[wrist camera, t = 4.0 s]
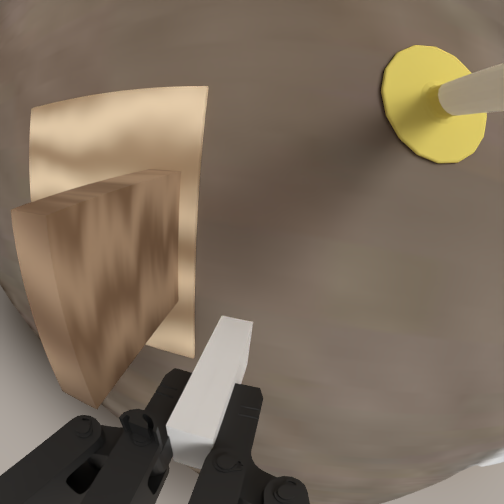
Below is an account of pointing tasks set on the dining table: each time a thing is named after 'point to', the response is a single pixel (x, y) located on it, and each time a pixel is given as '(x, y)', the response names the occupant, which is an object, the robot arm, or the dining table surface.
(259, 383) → the dining table surface
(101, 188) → the panel
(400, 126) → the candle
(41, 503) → the robot arm
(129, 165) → the light wooden board
